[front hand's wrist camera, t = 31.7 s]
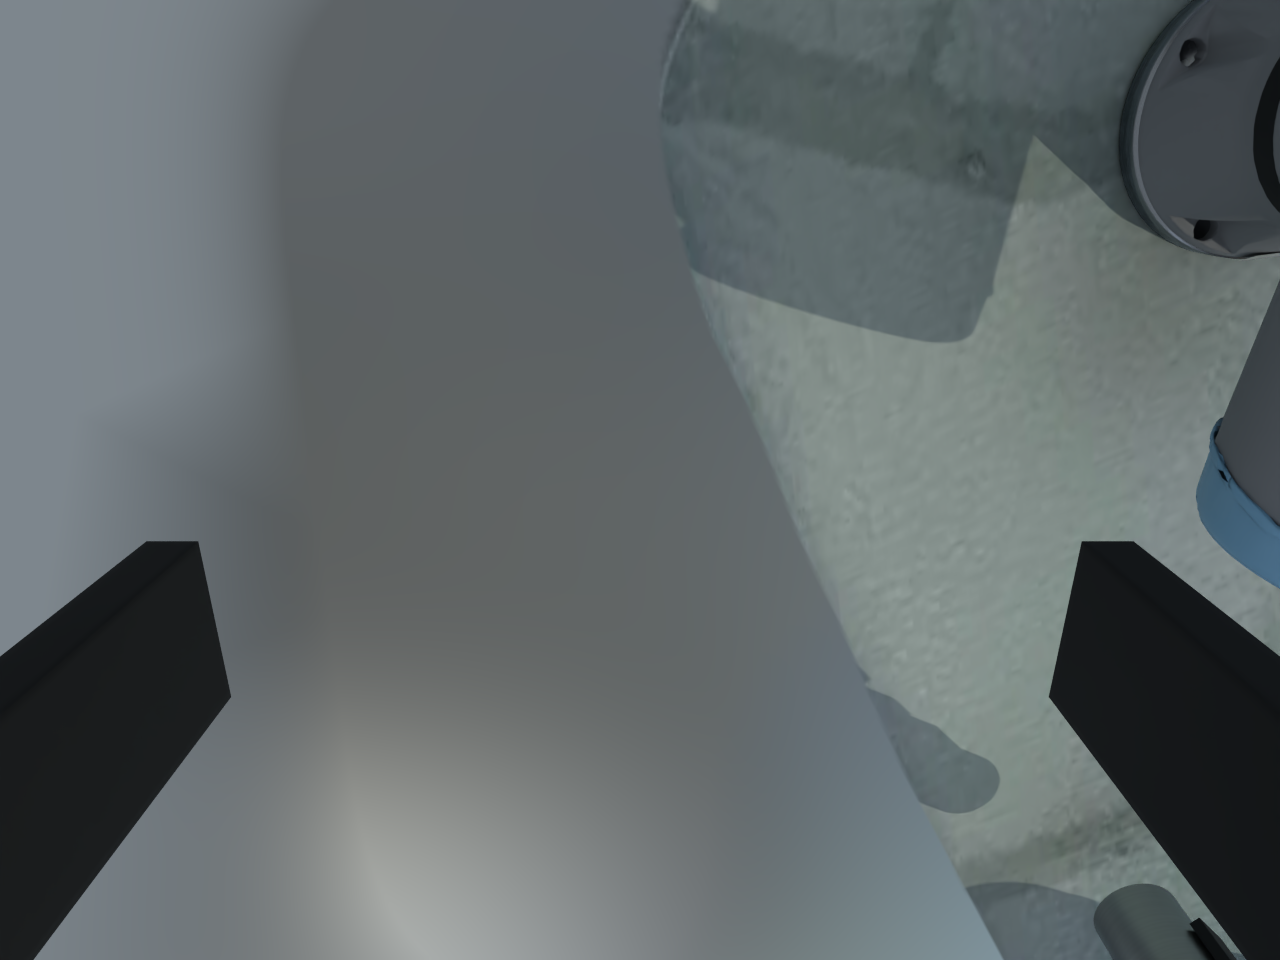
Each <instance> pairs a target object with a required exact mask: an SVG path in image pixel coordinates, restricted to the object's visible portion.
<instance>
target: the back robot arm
mask: <svg viewBox="0 0 1280 960" xmlns="http://www.w3.org/2000/svg"><path fill="white" fill-rule="evenodd" d="M1190 925H1191V927H1192V928H1193V930H1194V931H1195V932H1196V934H1197V935H1198V937H1199V938H1200V939H1201V941H1202V942H1203V944H1204V945H1205V946H1206V948H1207V949H1208V951H1209V952H1210V953H1211V955H1212V956H1213V958H1214V959H1215V960H1236V958H1235V957H1234V956H1233V954H1232V953H1231V952H1230V950H1229V949H1228V948H1227V946H1226V945H1225V944H1224V942H1223V941H1222V940H1221V938H1220V937H1219V936H1217V935H1216V934H1215V933H1214V932H1213V931H1212V930H1211V929H1210V928H1209V927H1208V926H1207V925H1206V924H1205V923H1204V922H1203V921H1202V920H1201V919H1200V918H1198V919H1196V920H1195V921H1193V922H1191V923H1190Z"/></svg>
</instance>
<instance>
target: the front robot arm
mask: <svg viewBox="0 0 1280 960" xmlns="http://www.w3.org/2000/svg"><path fill="white" fill-rule="evenodd" d="M1119 151H1120V164H1121V170H1122V175H1123V179H1124V183H1125V186H1126V189H1127V192H1128V194H1129V197H1130V199H1131V201H1132V203H1133V205H1134V206H1135V208H1136V210H1137V211H1138V213H1139V214H1140V216H1141V217H1142V218H1143V220H1144V221H1145V222H1146V223H1147V224H1148V225H1149V226H1150V227H1151V228H1152V229H1153V230H1154V231H1155V232H1156V233H1158V234H1159V235H1160V236H1162V237H1163V238H1165V239H1166V240H1167V241H1169V242H1171V243H1173V244H1175V245H1177V246H1179V247H1182V248H1184V249H1187V250H1190V251H1194V252H1198V253H1202V254H1207V255H1213V256H1219V257H1225V258H1233V259H1243V260H1240V261H1244V260H1252V259H1260V258H1268V257H1276V256H1280V0H1193V1H1192V2H1191V3H1190V4H1189V5H1187V6H1186V7H1185V8H1184V9H1183V10H1182V11H1181V12H1180V13H1179V14H1178V15H1177V16H1176V17H1175V18H1174V19H1173V20H1172V21H1171V22H1170V23H1169V24H1168V26H1167V27H1166V28H1165V29H1164V30H1163V32H1162V33H1161V34H1160V35H1159V37H1158V38H1157V40H1156V41H1155V42H1154V44H1153V45H1152V47H1151V48H1150V50H1149V51H1148V53H1147V55H1146V56H1145V58H1144V60H1143V61H1142V63H1141V65H1140V67H1139V69H1138V71H1137V73H1136V75H1135V78H1134V80H1133V83H1132V85H1131V87H1130V90H1129V93H1128V96H1127V100H1126V103H1125V106H1124V111H1123V116H1122V121H1121V128H1120V142H1119ZM1209 448H1210V452H1209V455H1208V458H1207V460H1206V463H1205V466H1204V469H1203V472H1202V475H1201V477H1200V480H1199V483H1198V486H1197V490H1196V500H1197V505H1198V511H1199V516H1200V519H1201V521H1202V523H1203V525H1204V526H1205V528H1206V529H1207V531H1208V532H1209V534H1210V535H1211V536H1212V537H1213V539H1214V540H1215V541H1216V542H1217V543H1218V544H1219V545H1220V546H1221V547H1222V548H1223V549H1224V550H1225V551H1226V552H1227V553H1229V554H1230V555H1231V556H1232V557H1233V558H1235V559H1236V560H1237V561H1238V562H1240V563H1241V564H1242V565H1244V566H1245V567H1246V568H1248V569H1249V570H1251V571H1252V572H1254V573H1255V574H1257V575H1258V576H1260V577H1261V578H1263V579H1264V580H1266V581H1268V582H1269V583H1271V584H1272V585H1274V586H1276V587H1278V588H1279V589H1280V281H1279V283H1278V286H1277V288H1276V290H1275V293H1274V295H1273V298H1272V300H1271V303H1270V305H1269V308H1268V310H1267V312H1266V315H1265V317H1264V320H1263V322H1262V325H1261V327H1260V330H1259V332H1258V334H1257V337H1256V339H1255V342H1254V344H1253V347H1252V349H1251V352H1250V354H1249V357H1248V359H1247V361H1246V364H1245V366H1244V369H1243V371H1242V374H1241V376H1240V379H1239V381H1238V383H1237V386H1236V388H1235V391H1234V393H1233V396H1232V398H1231V401H1230V403H1229V405H1228V408H1227V410H1226V413H1225V415H1224V417H1223V418H1220V419H1219V420H1218V421H1217V422H1216V424H1215V426H1214V427H1213V429H1212V432H1211V435H1210V445H1209ZM230 698H231V694H230V689H229V685H228V680H227V675H226V671H225V666H224V661H223V656H222V652H221V647H220V642H219V637H218V633H217V628H216V623H215V619H214V614H213V609H212V604H211V600H210V595H209V591H208V586H207V581H206V576H205V571H204V567H203V562H202V557H201V553H200V548H199V543H198V541H147V542H145V543H144V544H143V545H141V546H140V547H139V548H138V549H136V550H135V551H134V552H133V553H131V554H130V555H129V556H127V557H126V558H125V559H124V560H122V561H121V562H120V563H119V564H117V565H116V566H115V567H113V568H112V569H111V570H110V571H108V572H107V573H106V574H105V575H103V576H102V577H101V578H99V579H98V580H97V581H96V582H94V583H93V584H92V585H91V586H89V587H88V588H87V589H86V590H84V591H83V592H82V593H80V594H79V595H78V596H77V597H75V598H74V599H73V600H72V601H70V602H69V603H68V604H66V605H65V606H64V607H63V608H61V609H60V610H59V611H57V612H56V613H55V614H54V615H52V616H51V617H50V618H49V619H47V620H46V621H45V622H44V623H42V624H41V625H40V626H38V627H37V628H36V629H35V630H33V631H32V632H31V633H30V634H28V635H27V636H26V637H24V638H23V639H22V640H21V641H19V642H18V643H17V644H16V645H14V646H13V647H12V648H11V649H9V650H8V651H7V652H5V653H4V654H3V655H2V656H0V960H34V958H35V957H36V956H37V954H38V953H39V952H40V950H41V949H42V948H43V946H44V945H45V944H46V942H47V941H48V940H49V938H50V937H51V936H52V934H53V933H54V932H55V930H56V929H57V928H58V926H59V925H60V924H61V922H62V921H63V920H64V918H65V917H66V916H67V914H68V913H69V912H70V910H71V909H72V908H73V906H74V905H75V904H76V902H77V901H78V900H79V898H80V897H81V896H82V894H83V893H84V892H85V890H86V889H87V888H88V886H89V885H90V884H91V882H92V881H93V880H94V878H95V877H96V876H97V874H98V873H99V872H100V870H101V869H102V868H103V867H104V865H105V864H106V863H107V861H108V860H109V858H110V857H111V856H112V855H113V853H114V852H115V851H116V849H117V848H118V847H119V845H120V844H121V843H122V841H123V840H124V839H125V837H126V836H127V835H128V833H129V832H130V831H131V829H132V828H133V827H134V825H135V824H136V823H137V821H138V820H139V819H140V817H141V816H142V815H143V813H144V812H145V811H146V809H147V808H148V807H149V805H150V804H151V803H152V801H153V800H154V799H155V797H156V796H157V795H158V793H159V792H160V791H161V789H162V788H163V787H164V785H165V784H166V783H167V781H168V780H169V779H170V777H171V776H172V775H173V773H174V772H175V771H176V769H177V768H178V767H179V765H180V764H181V763H182V761H183V760H184V759H185V757H186V756H187V755H188V753H189V752H190V751H191V749H192V748H193V747H194V745H195V744H196V743H197V741H198V740H199V739H200V738H201V736H202V735H203V734H204V732H205V731H206V730H207V728H208V727H209V725H210V724H211V723H212V722H213V720H214V719H215V718H216V716H217V715H218V714H219V712H220V711H221V710H222V708H223V707H224V706H225V704H226V703H227V702H228V700H229V699H230ZM1049 698H1050V699H1051V700H1052V702H1053V703H1054V704H1055V706H1056V707H1057V708H1058V710H1059V711H1060V712H1061V714H1062V715H1063V716H1064V718H1065V719H1066V720H1067V722H1068V723H1069V724H1070V726H1071V727H1072V728H1073V730H1074V731H1075V732H1076V734H1077V735H1078V736H1079V738H1080V739H1081V740H1082V742H1083V743H1084V744H1085V746H1086V747H1087V748H1088V750H1089V751H1090V752H1091V754H1092V755H1093V756H1094V757H1095V759H1096V760H1097V761H1098V763H1099V764H1100V765H1101V767H1102V768H1103V769H1104V771H1105V772H1106V773H1107V775H1108V776H1109V777H1110V779H1111V780H1112V781H1113V783H1114V784H1115V785H1116V787H1117V788H1118V789H1119V791H1120V792H1121V793H1122V795H1123V796H1124V797H1125V799H1126V800H1127V801H1128V803H1129V804H1130V805H1131V807H1132V808H1133V809H1134V811H1135V812H1136V813H1137V815H1138V816H1139V817H1140V819H1141V820H1142V821H1143V823H1144V824H1145V825H1146V827H1147V828H1148V829H1149V831H1150V832H1151V833H1152V835H1153V836H1154V837H1155V839H1156V840H1157V841H1158V843H1159V844H1160V845H1161V847H1162V848H1163V849H1164V851H1165V852H1166V853H1167V855H1168V856H1169V857H1170V859H1171V860H1172V861H1173V863H1174V864H1175V865H1176V867H1177V868H1178V869H1179V871H1180V872H1181V873H1182V875H1183V876H1184V877H1185V878H1186V880H1187V881H1188V882H1189V884H1190V885H1191V886H1192V888H1193V889H1194V890H1195V892H1196V893H1197V894H1198V896H1199V897H1200V898H1201V900H1202V901H1203V902H1204V904H1205V905H1206V906H1207V908H1208V909H1209V910H1210V912H1211V913H1212V914H1213V916H1214V917H1215V918H1216V920H1217V921H1218V922H1219V924H1220V925H1221V926H1222V928H1223V929H1224V930H1225V932H1226V933H1227V934H1228V936H1229V937H1230V938H1231V940H1232V941H1233V942H1234V944H1235V945H1236V946H1237V948H1238V949H1239V950H1240V952H1241V953H1242V954H1243V956H1244V957H1245V958H1246V960H1280V656H1278V655H1277V654H1276V653H1275V652H1273V651H1272V650H1271V649H1270V648H1268V647H1267V646H1266V645H1264V644H1263V643H1262V642H1261V641H1259V640H1258V639H1257V638H1256V637H1254V636H1253V635H1252V634H1250V633H1249V632H1248V631H1247V630H1245V629H1244V628H1243V627H1242V626H1240V625H1239V624H1238V623H1236V622H1235V621H1234V620H1233V619H1231V618H1230V617H1229V616H1228V615H1226V614H1225V613H1224V612H1223V611H1221V610H1220V609H1219V608H1217V607H1216V606H1215V605H1214V604H1212V603H1211V602H1210V601H1209V600H1207V599H1206V598H1205V597H1203V596H1202V595H1201V594H1200V593H1198V592H1197V591H1196V590H1195V589H1193V588H1192V587H1191V586H1189V585H1188V584H1187V583H1186V582H1184V581H1183V580H1182V579H1181V578H1179V577H1178V576H1177V575H1175V574H1174V573H1173V572H1172V571H1170V570H1169V569H1168V568H1167V567H1165V566H1164V565H1163V564H1162V563H1160V562H1159V561H1158V560H1156V559H1155V558H1154V557H1153V556H1151V555H1150V554H1149V553H1148V552H1146V551H1145V550H1144V549H1142V548H1141V547H1140V546H1139V545H1137V544H1136V543H1135V542H1134V541H1082V543H1081V548H1080V553H1079V557H1078V562H1077V567H1076V571H1075V576H1074V581H1073V586H1072V590H1071V595H1070V600H1069V604H1068V609H1067V614H1066V619H1065V623H1064V628H1063V633H1062V637H1061V642H1060V647H1059V652H1058V656H1057V661H1056V666H1055V670H1054V675H1053V680H1052V685H1051V689H1050V694H1049Z"/></svg>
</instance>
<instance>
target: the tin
mask: <svg viewBox="0 0 1280 960" xmlns="http://www.w3.org/2000/svg"><path fill="white" fill-rule="evenodd" d="M1191 922H1192V921H1191V920H1190V918H1189V917H1188V916H1187V914H1186V913H1185V911H1184V910H1183V909H1182V907H1181V906H1180V904H1179V903H1178V902H1177V900H1176V899H1175V897H1174V896H1173V895H1172V894H1171V893H1170V892H1169V891H1168V890H1166V889H1164V888H1162V887H1160V886H1157V885H1152V884H1135V885H1130V886H1126V887H1123V888H1121V889H1119V890H1116V891H1115V892H1113V893H1111V894H1110V895H1108V896H1107V897H1106V898H1105V899H1104V900H1103V901H1102V902H1101V903H1100V904H1099V906H1098V907H1097V909H1096V911H1095V915H1094V926H1095V929H1096V931H1097V933H1098V935H1099V936H1100V938H1101V940H1102V942H1103V943H1104V945H1105V947H1106V948H1107V950H1108V952H1109V953H1110V955H1111V957H1112V959H1113V960H1215V959H1214V958H1213V956H1212V955H1211V953H1210V952H1209V951H1208V949H1207V948H1206V946H1205V945H1204V944H1203V942H1202V941H1201V939H1200V938H1199V937H1198V935H1197V934H1196V932H1195V931H1194V930H1193V928H1192V927H1191V925H1190V923H1191Z"/></svg>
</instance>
